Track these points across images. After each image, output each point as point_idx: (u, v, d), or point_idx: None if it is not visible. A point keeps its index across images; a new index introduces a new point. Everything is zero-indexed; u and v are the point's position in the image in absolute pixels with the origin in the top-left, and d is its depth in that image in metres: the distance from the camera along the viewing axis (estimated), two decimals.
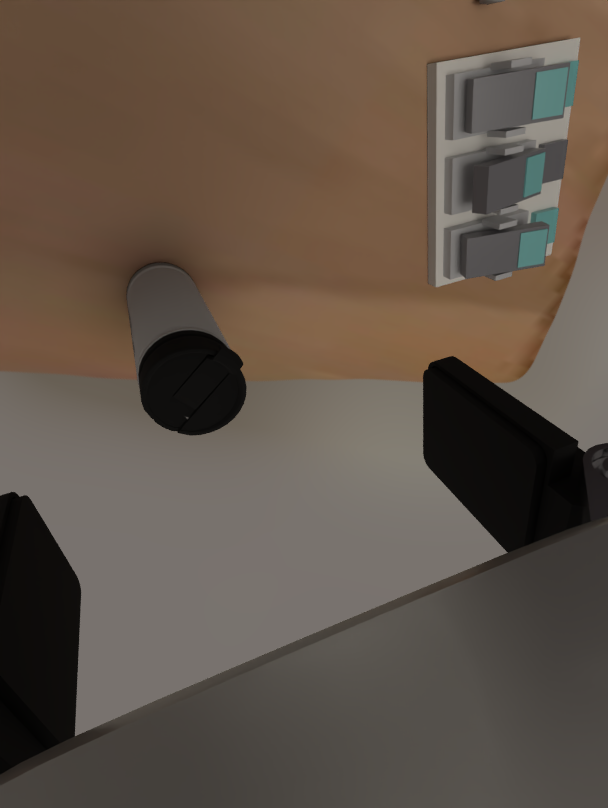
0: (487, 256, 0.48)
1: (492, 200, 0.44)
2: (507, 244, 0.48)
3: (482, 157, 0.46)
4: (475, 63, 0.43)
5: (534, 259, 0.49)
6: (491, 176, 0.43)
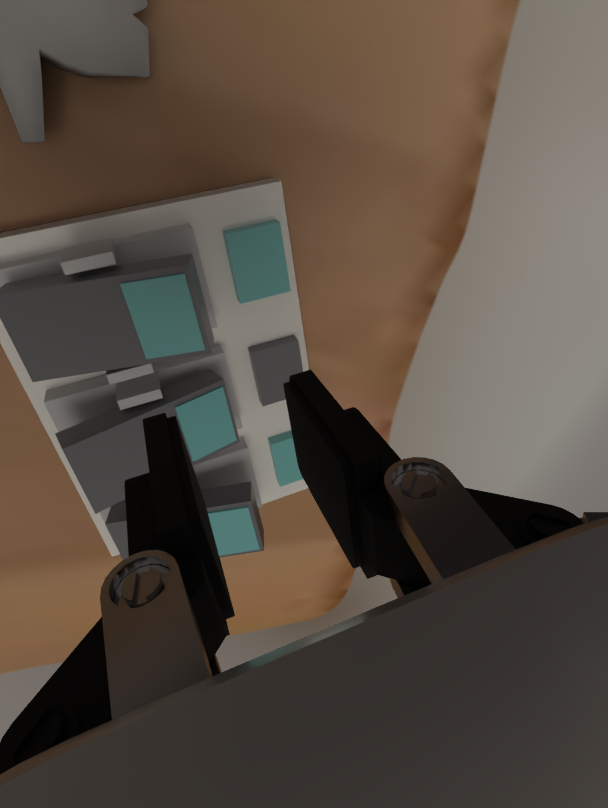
0: None
1: (102, 490, 0.23)
2: None
3: (113, 391, 0.25)
4: (50, 241, 0.22)
5: (242, 544, 0.28)
6: (78, 460, 0.22)
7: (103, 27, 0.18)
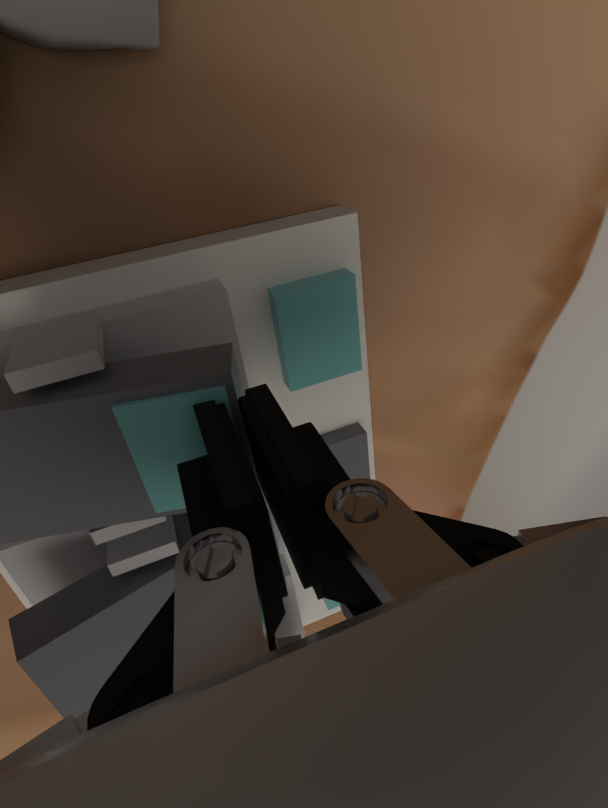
0: None
1: (86, 698, 0.15)
2: None
3: None
4: None
5: None
6: (46, 669, 0.14)
7: None
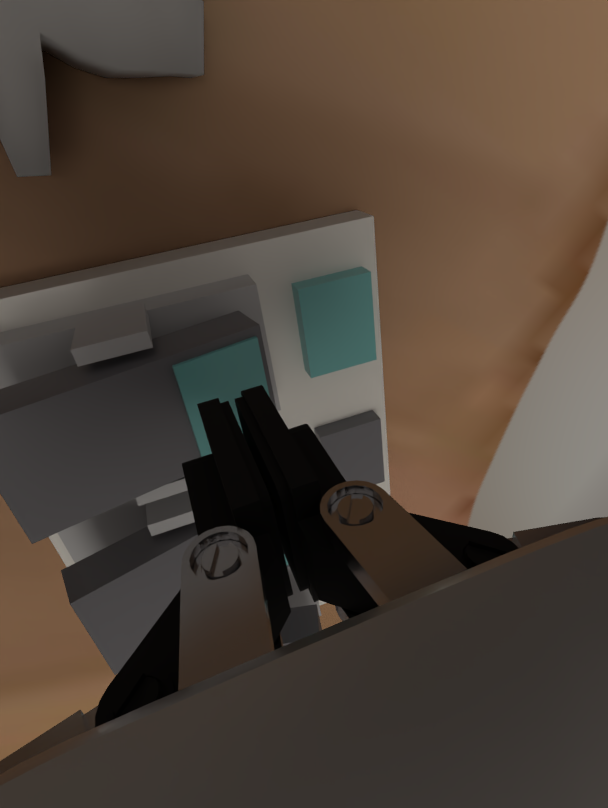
0: None
1: (125, 644, 0.17)
2: None
3: None
4: (58, 304, 0.16)
5: None
6: (93, 613, 0.16)
7: None
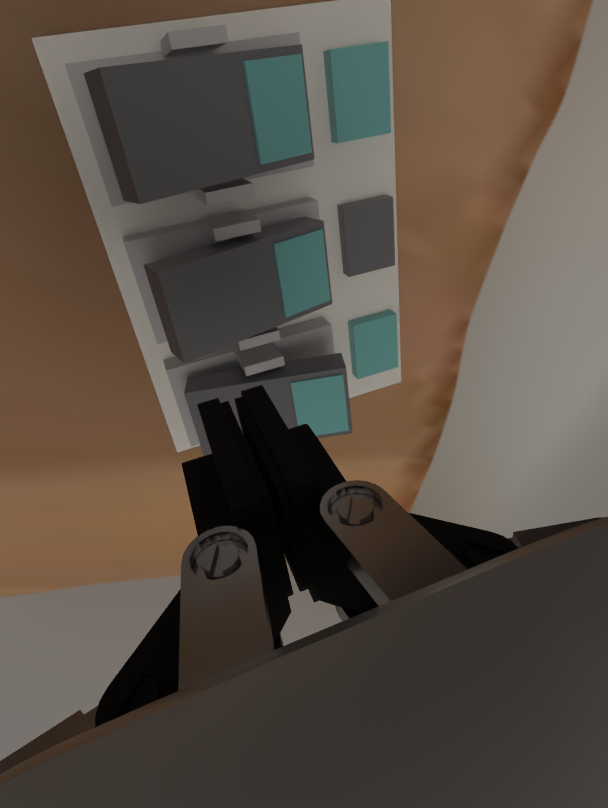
0: None
1: (194, 334, 0.21)
2: None
3: (198, 237, 0.22)
4: (139, 42, 0.19)
5: (330, 423, 0.26)
6: (173, 291, 0.19)
7: None
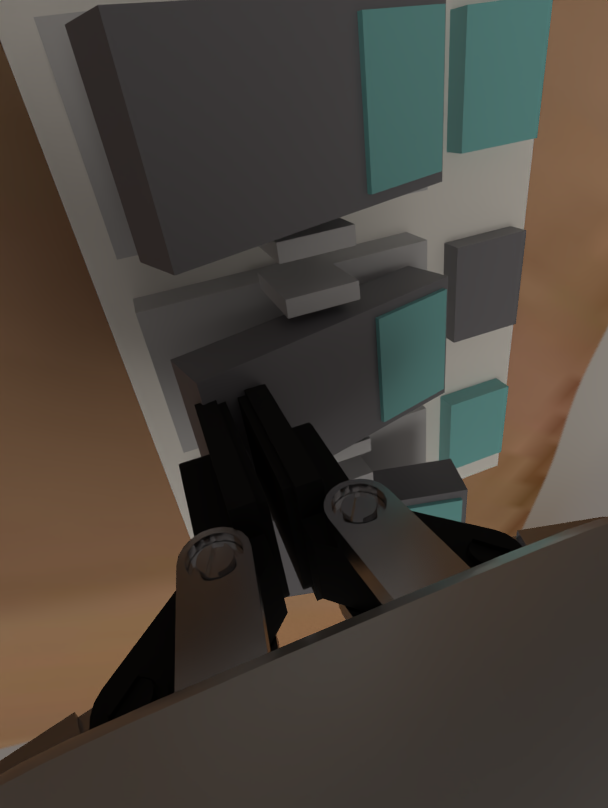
0: None
1: None
2: None
3: (250, 300, 0.14)
4: None
5: None
6: None
7: None
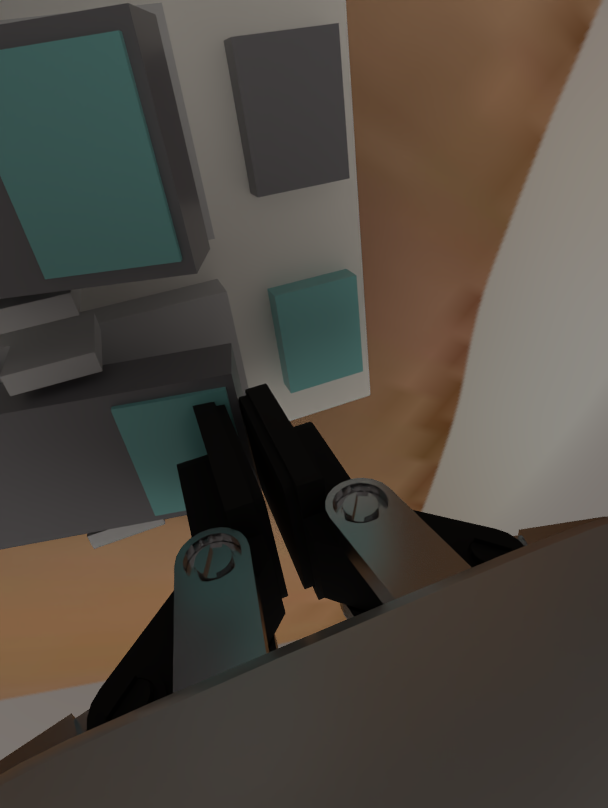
0: (10, 488, 0.12)
1: None
2: (73, 448, 0.12)
3: None
4: None
5: None
6: None
7: None
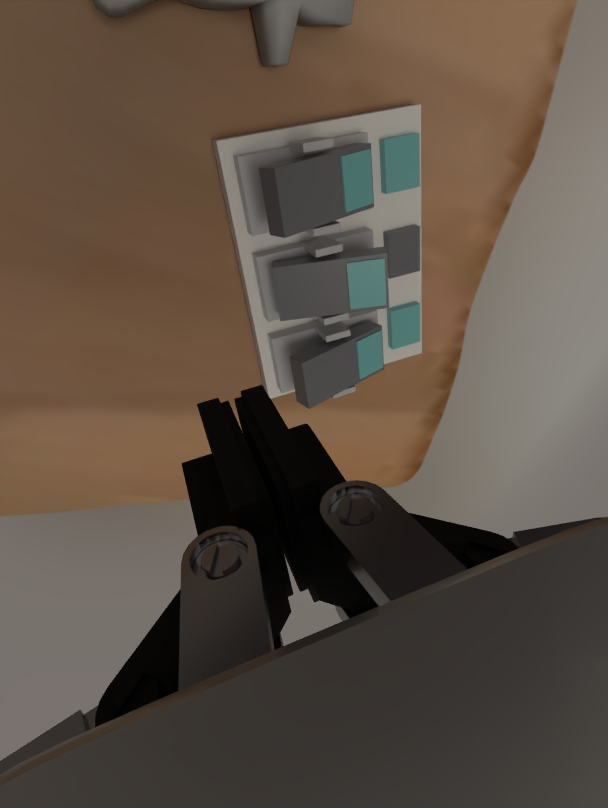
0: (327, 376, 0.38)
1: (288, 306, 0.36)
2: (344, 357, 0.38)
3: (299, 253, 0.36)
4: (274, 140, 0.33)
5: (373, 365, 0.40)
6: (278, 279, 0.34)
7: None
